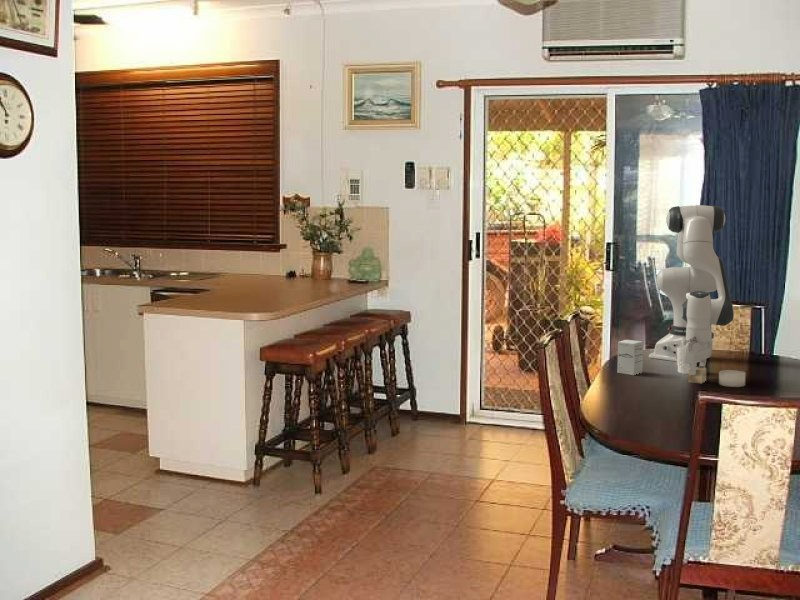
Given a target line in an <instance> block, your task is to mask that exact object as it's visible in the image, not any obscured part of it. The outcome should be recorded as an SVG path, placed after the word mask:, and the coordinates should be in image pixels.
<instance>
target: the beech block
mask: <svg viewBox="0 0 800 600" xmlns="http://www.w3.org/2000/svg"><path fill="white" fill-rule="evenodd" d="M696 370H697V374H695V375H691V370H690V369H689V372H688V374H687V375H688V377H687V379H688V380H687V382H688V383H695V384H703V383H705V381H706V382H707V367H705V368H700V367H699V366H696Z"/></svg>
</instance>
